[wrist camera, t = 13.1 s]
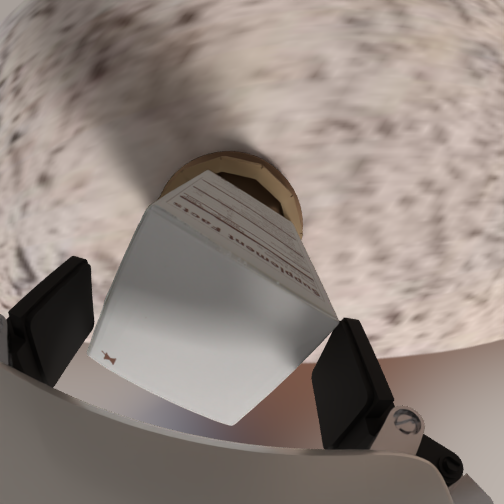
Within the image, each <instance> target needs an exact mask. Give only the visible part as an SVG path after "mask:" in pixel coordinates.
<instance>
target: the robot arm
mask: <svg viewBox="0 0 504 504" xmlns="http://www.w3.org/2000/svg"><path fill="white" fill-rule="evenodd" d="M8 313H9V317H8V318H7V319H5V317H4V316H2V315H1V314H0V504H493V501H492V500H491V498H490V497H489V496H488V495H487V494H486V493H485V492H484V491H483V490H482V489H481V488H480V487H479V486H478V485H477V483H475V482H474V480H473V479H472V478H471V477H470V476H469V475H468V474H465V475H464V476H463V475H462V474H463V464H462V461H461V459H460V458H459V457H458V456H457V455H456V454H455V453H453V452H452V451H450V450H448V449H447V448H445V447H444V446H442V445H440V444H439V443H437V442H435V441H434V440H432V439H431V438H429V437H428V436H426V435H424V434H423V433H424V429H425V424H424V420H423V418H422V417H421V415H420V414H419V413H418V412H417V411H416V410H414V409H413V408H410V407H408V406H403V405H402V406H396V407H395V406H394V403H393V401H394V398H393V395H392V393H391V390H390V388H389V386H388V383H387V381H386V378H385V376H384V374H383V372H382V369H381V367H380V365H379V362H378V360H377V358H376V356H375V353H374V351H373V349H372V347H371V345H370V342H369V340H368V338H367V336H366V334H365V332H364V329H363V327H362V325H361V323H360V321H359V320H356V319H350V318H343V319H342V321H339V324H338V326H337V327H336V328H335V329H334V330H333V332H332V334H331V336H330V338H329V340H328V342H327V344H326V346H325V348H324V350H323V352H322V354H321V356H320V358H319V360H318V362H317V364H316V366H315V368H314V369H313V372H312V384H313V389H314V394H315V401H316V406H317V412H318V418H319V424H320V430H321V435H322V442H323V447H324V449H325V450H324V449H323V450H322V449H297V448H280V447H269V446H258V445H250V444H242V443H235V442H228V441H223V440H216V439H211V438H205V437H201V436H196V435H191V434H186V433H182V432H178V431H173V430H170V429H166V428H162V427H158V426H154V425H151V424H147V423H144V422H141V421H137V420H134V419H131V418H128V417H125V416H122V415H119V414H116V413H112V412H110V411H107V410H105V409H102V408H99V407H97V406H94V405H91V404H88V403H86V402H84V401H81V400H79V399H77V398H74V397H72V396H70V395H67V394H65V393H63V392H61V391H59V390H56V389H54V388H53V387H54V386H55V384H56V383H57V381H58V379H59V378H60V377H61V375H62V374H63V372H64V370H65V369H66V367H67V366H68V364H69V363H70V361H71V360H72V358H73V357H74V355H75V354H76V352H77V351H78V349H79V348H80V347H81V345H82V344H83V342H84V341H85V339H86V338H87V336H88V335H89V334H90V332H91V331H92V329H93V327H94V312H93V300H92V283H91V266H90V265H89V264H88V262H87V260H86V259H83V258H79V257H76V256H72V257H70V258H69V259H68V260H67V261H65V262H64V263H63V264H62V265H60V266H59V267H58V268H57V269H56V270H54V271H53V272H52V273H51V274H50V275H49V276H47V277H46V278H45V279H44V280H43V281H42V282H40V283H39V284H38V285H37V286H36V287H35V288H34V289H32V290H31V291H30V292H29V293H28V294H27V295H26V296H25V297H24V298H22V299H21V300H20V301H19V302H18V303H17V304H16V305H15V306H14V307H13V308H12V309H11V310H10V311H9V312H8Z"/></svg>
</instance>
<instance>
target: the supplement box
mask: <svg viewBox="0 0 504 504" xmlns="http://www.w3.org/2000/svg"><path fill="white" fill-rule="evenodd" d="M338 324H339V320H338V318H337V315H336V313H335V311H334V309H333V307H332V305H331V302H330V300H329V298H328V296H327V293H326V291H325V289H324V287H323V285H322V283H321V281H320V279H319V276H318V274H317V272H316V270H315V268H314V266H313V264H312V262H311V260H310V258H309V256H308V254H307V252H306V249H305V247H304V245H303V243H302V241H301V239H300V237H299V235H298V233H297V231H296V229H295V227H294V225H293V223H292V222H291V221H289V220H287V219H286V218H284V217H283V216H281V215H280V214H278V213H277V212H275V211H273V210H272V209H270V208H269V207H267V206H266V205H264V204H263V203H261V202H260V201H258V200H256V199H255V198H253V197H252V196H250V195H249V194H247V193H245V192H244V191H242V190H241V189H239V188H237V187H236V186H234V185H233V184H231V183H229V182H228V181H226V180H225V179H223V178H221V177H220V176H218V175H216V174H215V173H213V172H211V171H209V170H206V171H205V172H203V173H201V174H200V175H198V176H196V177H195V178H193V179H191V180H190V181H188V182H186V183H185V184H183V185H181V186H179V187H178V188H176V189H174V190H173V191H171V192H169V193H168V194H166V195H165V196H163V197H162V198H160V199H158V200H157V201H156V202H154V203H153V204H151V205H150V206H149V207H148V208H147V209H146V211H145V213H144V214H143V216H142V219H141V221H140V223H139V225H138V227H137V229H136V231H135V233H134V235H133V237H132V239H131V242H130V244H129V246H128V248H127V250H126V253H125V255H124V257H123V259H122V262H121V264H120V266H119V269H118V271H117V273H116V276H115V278H114V280H113V283H112V285H111V287H110V289H109V292H108V294H107V296H106V298H105V301H104V305H103V309H102V311H101V314H100V317H99V319H98V322H97V325H96V328H95V330H94V333H93V336H92V339H91V342H90V345H89V347H88V350H87V355H88V356H89V357H91V358H92V359H94V360H95V361H97V362H98V363H100V364H101V365H102V366H104V367H105V368H107V369H109V370H111V371H112V372H114V373H115V374H117V375H119V376H121V377H122V378H124V379H126V380H128V381H130V382H132V383H133V384H135V385H137V386H139V387H141V388H143V389H145V390H147V391H149V392H151V393H153V394H155V395H157V396H159V397H161V398H163V399H166V400H168V401H170V402H172V403H174V404H176V405H179V406H181V407H183V408H185V409H188V410H190V411H192V412H195V413H198V414H200V415H202V416H205V417H208V418H210V419H212V420H215V421H218V422H220V423H224V424H227V425H234V424H235V423H237V422H238V421H239V420H240V419H241V418H242V417H244V416H245V415H246V414H247V413H248V412H249V411H251V409H253V408H254V407H255V406H256V405H257V404H258V403H259V402H261V401H262V400H263V399H264V398H265V397H266V396H267V395H268V394H269V393H271V391H273V390H274V389H275V388H276V387H277V386H278V385H279V384H280V383H281V382H282V381H283V380H285V378H287V377H288V376H289V375H290V374H291V373H292V372H293V371H294V370H295V369H296V368H297V367H298V366H299V365H300V364H301V363H302V362H303V361H304V360H305V359H306V358H307V357H308V356H309V355H310V354H311V353H312V352H313V351H314V350H315V349H316V348H317V347H318V346H319V345H320V344H321V343H322V342H323V340H324V339H325V338H326V337H327V336H328V335H329V334H330V333H331V332H332V331H333V330H334V329H335V328H336V327H337V326H338Z"/></svg>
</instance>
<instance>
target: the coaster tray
mask: <svg viewBox="0 0 504 504" xmlns="http://www.w3.org/2000/svg"><path fill="white" fill-rule="evenodd" d="M206 170H209V171H211V172H213V173H215V174H216V175H218V176H220V177H221V178H223V179H225V180H226V181H228V182H229V183H231V184H233V185H234V186H236V187H237V188H239V189H241V190H242V191H244V192H245V193H247V194H249V195H250V196H252V197H253V198H255V199H256V200H258V201H260V202H261V203H263V204H264V205H266V206H267V207H269V208H270V209H272V210H273V211H275V212H277V213H278V214H280V215H281V216H283V217H284V218H286V219H287V220H289V221H291V222H292V223H293V225H294V227H295V229H296V231H297V233H298V235H299V237H300V239H302V236H303V234H302V233H303V231H302V230H303V218H302V211H301V206H300V203H299V200H298V197H297V195H296V193H295V191H294V189H293V188H292V186H291V185H290V183H289V182H288V180H287V179H286V178H285V177H284V176H283V175H282V174H281V173H280V172H279V171H278V170H277V169H276V168H275V167H273V166H272V165H271V164H269V163H268V162H266V161H265V160H263V159H261V158H258V157H256V156H254V155H250V154H247V153H243V152H236V151H223V152H215V153H211V154H208V155H204V156H201V157H199V158H197V159H194V160H192V161H191V162H189V163H187V164H186V165H184V166H183V167H182V168H181V169H179V170H178V171H177V172H176V173H175V174H174V175H173V176H172V177H171V178H170V180H169V181H168V183H167V184H166V186H165V187H164V189H163V191H162V193H161V195H160V197H159V198H158V199H160V198H162V197H163V196H165V195H166V194H168V193H169V192H171V191H173V190H174V189H176V188H178V187H179V186H181V185H183V184H185V183H186V182H188V181H190V180H191V179H193V178H195V177H196V176H198V175H200V174H201V173H203V172H205V171H206Z"/></svg>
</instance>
